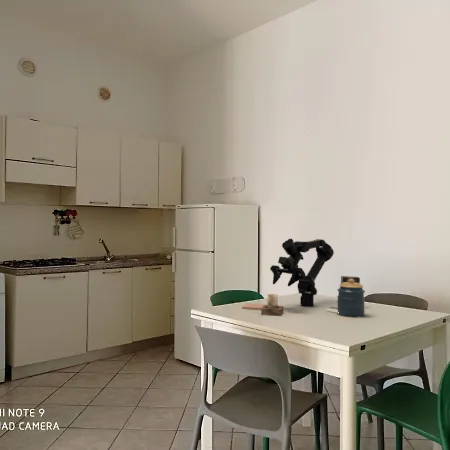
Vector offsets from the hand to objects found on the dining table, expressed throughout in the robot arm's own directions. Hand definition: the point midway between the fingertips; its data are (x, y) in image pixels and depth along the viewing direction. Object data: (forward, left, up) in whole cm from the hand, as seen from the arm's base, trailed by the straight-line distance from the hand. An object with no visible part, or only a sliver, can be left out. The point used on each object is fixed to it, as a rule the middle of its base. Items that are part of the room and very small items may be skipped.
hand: (280, 284), depth 220 cm
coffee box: (-34, -25, -13) cm, 44 cm away
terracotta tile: (+14, -5, -13) cm, 20 cm away
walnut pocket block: (+3, +7, -13) cm, 15 cm away
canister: (-34, -3, -13) cm, 37 cm away
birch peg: (+3, +7, -13) cm, 15 cm away
